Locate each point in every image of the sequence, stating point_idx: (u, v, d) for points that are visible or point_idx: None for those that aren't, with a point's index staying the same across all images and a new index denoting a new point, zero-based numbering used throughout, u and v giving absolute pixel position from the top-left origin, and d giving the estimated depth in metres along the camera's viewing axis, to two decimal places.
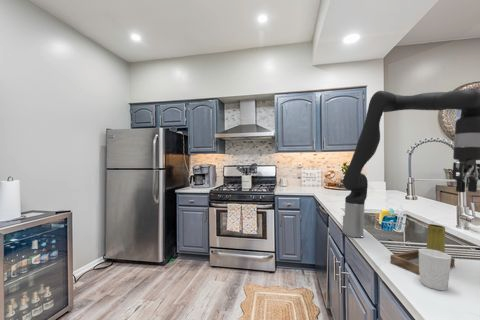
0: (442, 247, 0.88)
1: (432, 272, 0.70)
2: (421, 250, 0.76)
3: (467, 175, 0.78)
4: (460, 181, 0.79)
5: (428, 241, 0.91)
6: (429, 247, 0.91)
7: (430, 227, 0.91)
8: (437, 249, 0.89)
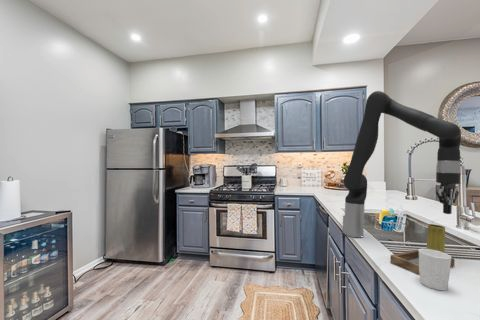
0: (442, 247, 0.88)
1: (432, 272, 0.70)
2: (421, 250, 0.76)
3: (450, 199, 0.93)
4: (446, 204, 0.93)
5: (428, 241, 0.91)
6: (429, 247, 0.91)
7: (430, 227, 0.91)
8: (437, 249, 0.89)
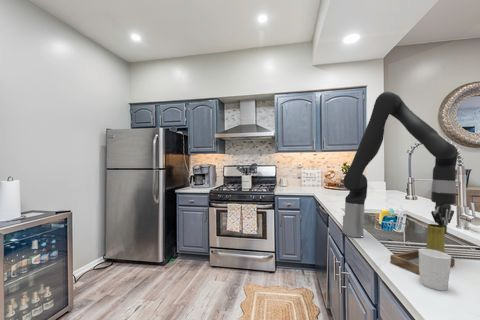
0: (442, 247, 0.88)
1: (432, 272, 0.70)
2: (421, 250, 0.76)
3: (445, 219, 0.91)
4: (441, 225, 0.92)
5: (428, 241, 0.91)
6: (429, 247, 0.90)
7: (429, 227, 0.90)
8: (437, 249, 0.88)
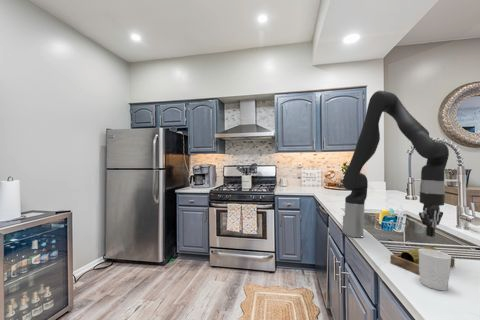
0: None
1: (432, 272, 0.70)
2: (421, 250, 0.76)
3: (434, 221, 0.88)
4: (429, 227, 0.88)
5: None
6: None
7: None
8: None
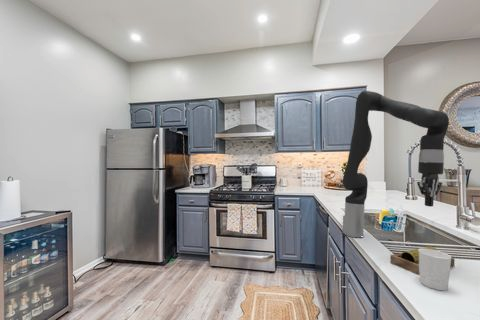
0: None
1: (432, 272, 0.70)
2: (421, 250, 0.76)
3: (432, 190, 0.87)
4: (428, 196, 0.88)
5: None
6: None
7: None
8: None
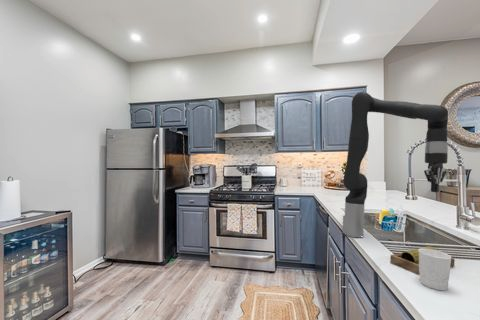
0: None
1: (432, 272, 0.70)
2: (421, 250, 0.76)
3: (437, 178, 0.98)
4: (434, 183, 0.98)
5: None
6: None
7: None
8: None
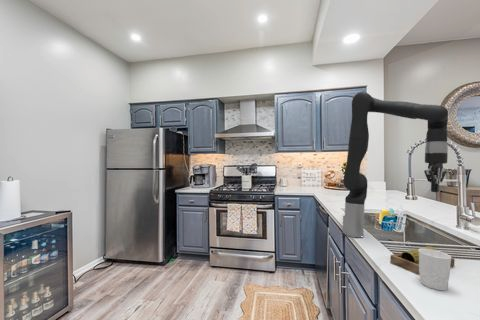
0: None
1: (432, 272, 0.70)
2: (421, 250, 0.76)
3: (437, 177, 0.98)
4: (434, 183, 0.99)
5: None
6: None
7: None
8: None
